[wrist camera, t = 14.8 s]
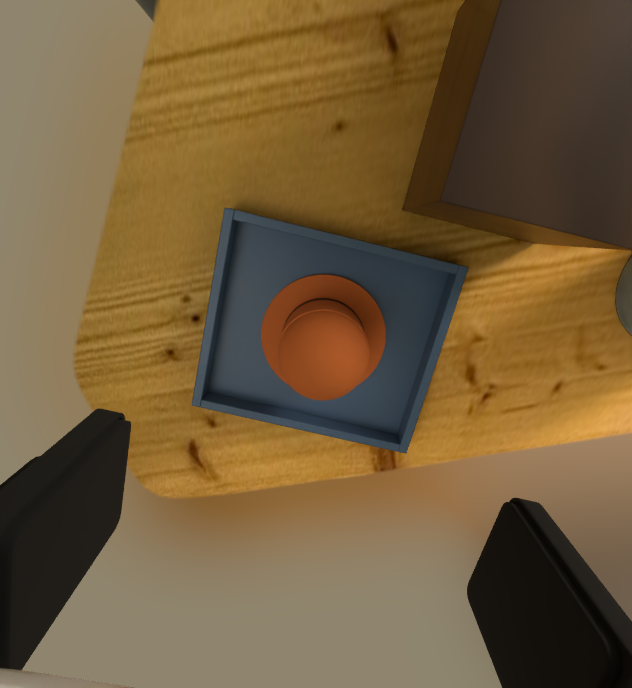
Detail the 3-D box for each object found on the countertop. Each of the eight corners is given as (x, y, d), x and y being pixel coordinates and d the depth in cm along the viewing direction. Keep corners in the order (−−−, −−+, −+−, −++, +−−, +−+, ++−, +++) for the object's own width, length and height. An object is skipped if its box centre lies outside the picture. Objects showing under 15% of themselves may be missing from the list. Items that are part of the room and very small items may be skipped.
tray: (200, 394, 30) (191, 405, 28) (231, 208, 26) (224, 207, 24) (401, 439, 30) (406, 454, 29) (458, 264, 27) (469, 267, 25)
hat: (251, 378, 29) (228, 424, 22) (275, 260, 27) (258, 271, 20) (366, 404, 29) (379, 457, 22) (400, 290, 27) (425, 311, 20)
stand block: (401, 210, 26) (439, 201, 17) (457, 11, 23) (536, -120, 14) (536, 244, 26) (638, 251, 18) (607, 52, 23) (772, -52, 15)
